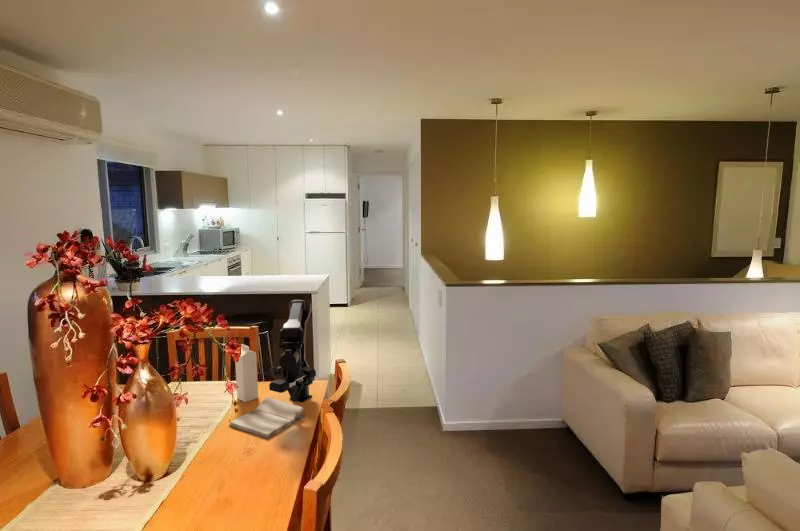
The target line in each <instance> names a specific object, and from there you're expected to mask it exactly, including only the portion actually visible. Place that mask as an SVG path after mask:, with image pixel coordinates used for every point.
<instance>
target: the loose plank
mask: <svg viewBox="0 0 800 531" xmlns="http://www.w3.org/2000/svg"><path fill="white" fill-rule="evenodd" d="M255 410H259V411H262V412H265V413H269V414H272V415H276V416H279V417H283V418H286V419H289V420H292V422H294V421H295V420H296V418H297V417H298V416H299V415H300V414H302V412H303V411H304V407H303V406H300V405H297V404H293V403H288V402H285V401H281V400H278V399H275V398H274V399H273V398H271V397H265V398H264V399H263V401H262V402H261V403H259V405H257V407H256V408H255Z"/></svg>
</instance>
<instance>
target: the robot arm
mask: <svg viewBox="0 0 800 531" xmlns="http://www.w3.org/2000/svg"><path fill="white" fill-rule="evenodd" d="M312 307H313V306H312V303H311V302H309V301H305V300H303V299H293V300H291V301H290V302H289V305H288V308H289V309H288V310H289V316H288V320H287V321H286V322H285V323H283V325H282V329H280V332H279V341H278V342H279V344H278V349H279V350H280V349H283V353H282V354H281V356H280V358H279V362H278V363H279V366H272V367H270V368H269V375H270V377H273V378H274V380H273V381H271V382H270V383H269V387H268V388H269V391H272V392H276V393H280V394H281V393H282V394H283V393H285V392H288V394H289V396H290V397H289V400H290V401H292V403H296V402H297V403H304V402H306V401H307V400H309V399H311V398H312V397H313V396H312V395H311V394H310V391H309V390H310V386H311V385H312V384H313V382H314V381H313V378H315V377H316V376H317V372H316V370H315V368H312V367H310V366H309V363H308V362H307V360H306V340H307V338H306V337H307V336H306V334H307V333H306V331H307V330H306V329H307V323H308V321H309V320H310V318H311V313H312V311H313V310H312ZM278 377H280V378H281V379H280V378H278ZM276 378H277V379H276Z"/></svg>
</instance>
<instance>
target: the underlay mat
mask: <svg viewBox="0 0 800 531" xmlns="http://www.w3.org/2000/svg"><path fill="white" fill-rule="evenodd" d="M305 417H306V414H303V413H300V415H299V416H298V417H297V418H296V420H295V421H294V422H292V424H290V425H288V426H287V427H285V428H283V429H282V430H280V431H278V432H277V433H275V434H273V435H272V436H270V437H268V438H267V437H264V436H261V435H258V434H255V433H252V432H249V431H246V430H243V429H240V428H236V427H233V426H230V424H229V425H228V427H231V428H234V429H236V430H239V431H243V432H246V433H249V434H252V435H254V436H257V437H260V438H263V439H270V438H272V437H273V436H274V435H277V434H278V433H280V432H282V431H283V430H285V429H286V428H289V427H290V426H291V425H293V424H295V423H296V422H298V421H300V420H302V419H304V418H305Z"/></svg>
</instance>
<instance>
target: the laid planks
mask: <svg viewBox="0 0 800 531" xmlns="http://www.w3.org/2000/svg"><path fill="white" fill-rule="evenodd" d="M290 424H291V425H293V424H292V420H289V419H286V418H283V417H279V416H276V415H272V414H269V413H265V412H262V411H259V410H256V409H253V410H251V411H249V412H247V413H246V414H243V415H241V416H239V417H238V418H235V419H234V420H232V421H230V422H229V425H230V426H233V427H236V428H240V429H243V430H246V431H249V432H252V433H255V434H258V435H261V436H264V437H267V438H268V437H270V436H271V437H273V436H274V435H273V434H275V433H276V434H278V433H279V432H278V431H280V430H281V431H283V430H284V429H283V428H285V427H286V428H288V427H289V426H288V425H290ZM291 425H290V426H291ZM230 426H229V427H230ZM287 426H288V427H287ZM233 427H232V428H233ZM236 428H235V429H236ZM286 428H285V429H286ZM282 429H283V430H282ZM281 431H280V432H281ZM277 432H278V433H277ZM276 434H275V435H276ZM272 435H273V436H272ZM271 437H270V438H271ZM268 439H269V438H268Z"/></svg>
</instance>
